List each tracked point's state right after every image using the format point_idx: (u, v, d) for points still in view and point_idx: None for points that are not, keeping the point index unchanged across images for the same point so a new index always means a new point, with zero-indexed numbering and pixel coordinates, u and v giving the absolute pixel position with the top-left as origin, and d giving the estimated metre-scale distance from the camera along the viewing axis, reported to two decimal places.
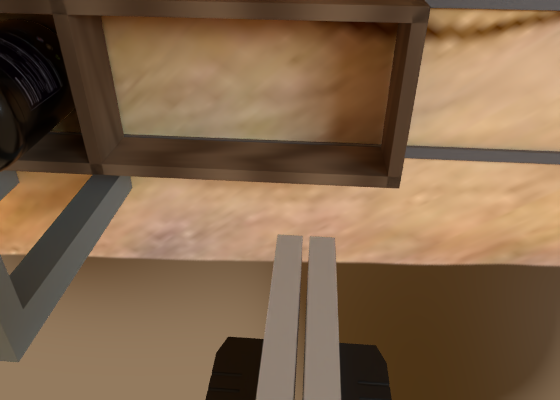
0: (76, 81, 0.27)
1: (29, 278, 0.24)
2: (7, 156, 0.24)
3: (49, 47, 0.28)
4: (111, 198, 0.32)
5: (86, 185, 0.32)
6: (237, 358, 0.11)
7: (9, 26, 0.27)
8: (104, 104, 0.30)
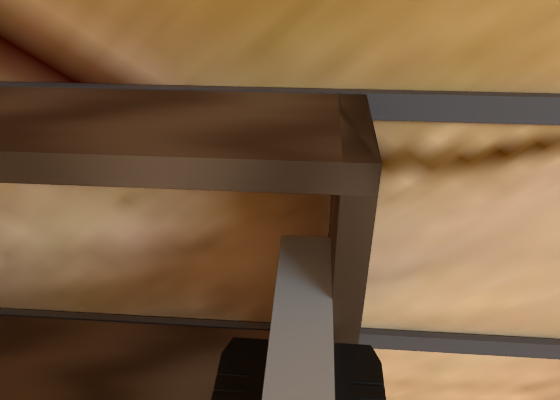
0: None
1: None
2: None
3: None
4: None
5: None
6: (242, 358, 0.11)
7: None
8: None
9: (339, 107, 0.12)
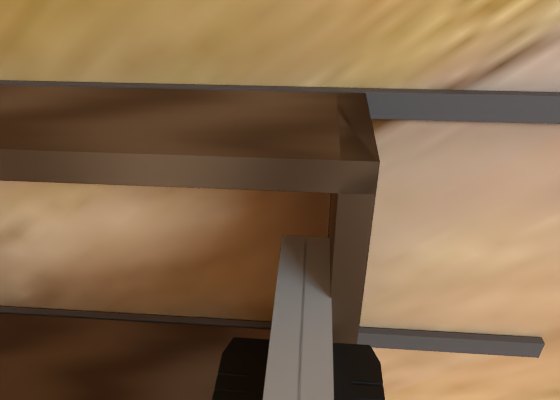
0: None
1: None
2: None
3: None
4: None
5: None
6: (243, 358, 0.11)
7: None
8: None
9: (338, 105, 0.12)
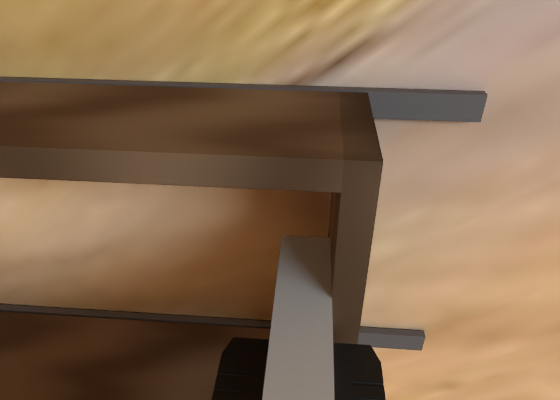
0: None
1: None
2: None
3: None
4: None
5: None
6: (242, 358, 0.11)
7: None
8: None
9: (340, 104, 0.12)
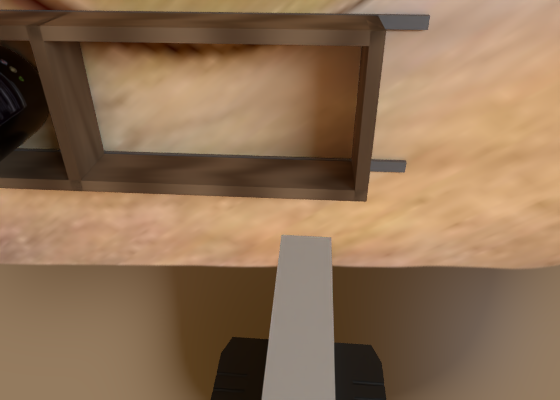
0: (54, 103, 0.28)
1: None
2: None
3: (13, 69, 0.29)
4: None
5: None
6: (242, 358, 0.11)
7: None
8: (83, 123, 0.31)
9: (366, 18, 0.27)
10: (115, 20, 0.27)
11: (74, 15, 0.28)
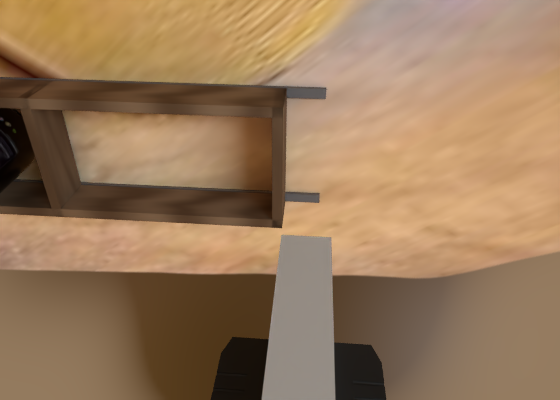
0: (39, 152, 0.36)
1: None
2: None
3: (8, 123, 0.38)
4: None
5: None
6: (242, 358, 0.11)
7: None
8: (63, 164, 0.39)
9: (275, 92, 0.35)
10: (85, 92, 0.35)
11: (54, 85, 0.36)
